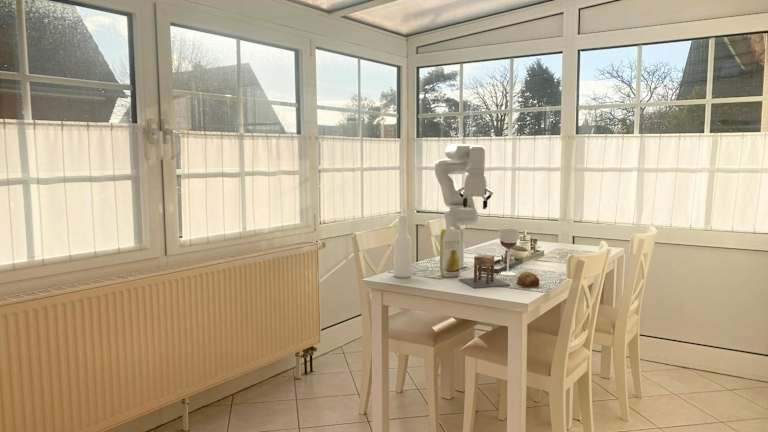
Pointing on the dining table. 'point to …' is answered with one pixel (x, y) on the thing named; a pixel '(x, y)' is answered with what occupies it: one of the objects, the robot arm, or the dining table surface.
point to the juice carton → (450, 252)
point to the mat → (483, 283)
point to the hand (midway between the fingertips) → (474, 208)
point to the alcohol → (402, 250)
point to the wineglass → (508, 243)
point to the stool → (484, 261)
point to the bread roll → (528, 280)
